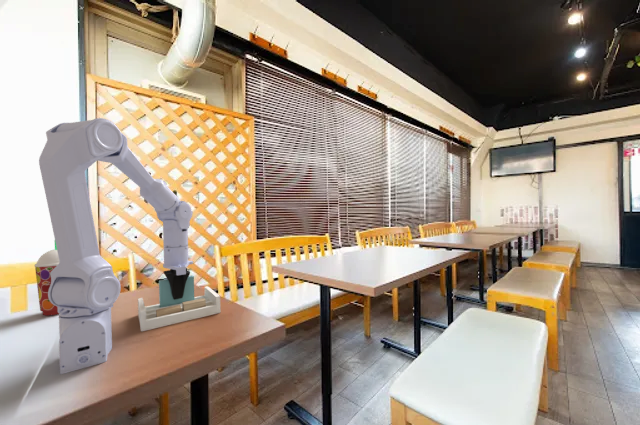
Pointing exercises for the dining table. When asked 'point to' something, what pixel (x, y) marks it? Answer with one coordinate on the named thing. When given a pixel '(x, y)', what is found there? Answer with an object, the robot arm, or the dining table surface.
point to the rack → (151, 321)
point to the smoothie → (46, 280)
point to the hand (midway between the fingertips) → (177, 297)
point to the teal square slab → (166, 293)
